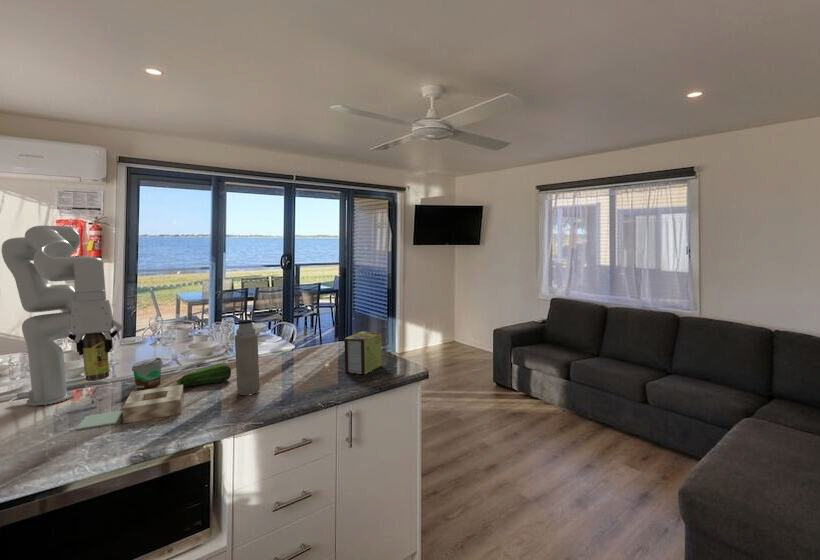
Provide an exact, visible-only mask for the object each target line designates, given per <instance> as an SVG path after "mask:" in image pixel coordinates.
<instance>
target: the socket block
mask: <svg viewBox="0 0 820 560" xmlns="http://www.w3.org/2000/svg"><path fill="white" fill-rule="evenodd" d="M184 393H185V392H184V386H183V385H178V384H177V385H170V386H165V387H164V386H163V387H157V388H156V387H154V388H150V389H144V390H134V391H131V392H130V393H129V395H128V397H127V399H126V401H125V403H124V404H123V406H122V408H121V411H122V424H128V423H129V424H130V423H134V422H140V421H141V422H142V421H146V420H152V419H159V418H163V417H164V416H165V417H171V416H177V415H181V414H182V411H183V405H184V401H185V400H184V399H185V395H184ZM181 410H182V411H181ZM176 414H177V415H176ZM170 415H171V416H170ZM165 417H164V418H165Z"/></svg>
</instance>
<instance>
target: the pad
mask: <svg viewBox="0 0 820 560" xmlns="http://www.w3.org/2000/svg"><path fill="white" fill-rule="evenodd" d="M121 415H123V413H122V410H118V411H117V410H115V411H110V412H104V413H97V414H91V415H85V417H84V418H83V419H82V421H81V422H80V423H79V424H78V426H77V427H76V431H79V430H85V429H91V428H99V427H104V426H109V425H115V424H118V421H119V419H120V418H121Z"/></svg>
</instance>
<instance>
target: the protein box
mask: <svg viewBox="0 0 820 560" xmlns="http://www.w3.org/2000/svg"><path fill="white" fill-rule="evenodd" d="M343 340H344V341H343V342H344V369H345V370H344V371H345V372H344V373H346V372H350V373H349V374H353V373H357V374H356V375H359V374H366V375H367V373H368V372H370V371H371V372H373V371H374V370H373V369H375V368H377V367H378V366H380V365H381V366H382V333H381V332H373V331H371V332H370V331H360V332H358V333H354V334H352V335H349V336H347V337H345V338H344V339H343ZM381 366H380V367H381ZM378 368H379V367H378ZM378 368H377V369H378ZM372 370H373V371H372ZM375 370H376V369H375ZM371 372H370V373H371ZM368 374H369V373H368Z"/></svg>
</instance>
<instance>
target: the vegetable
mask: <svg viewBox="0 0 820 560" xmlns="http://www.w3.org/2000/svg"><path fill="white" fill-rule="evenodd" d="M231 377H232V368H231V367H230V366H229V365H227V364H224V363H223V364H215V365H212V366H209V367H205V368H202V369H198V370H195V371H194V370H193V371H191V372H188V373H185V374H184V375H183V376H182V377H181V378H179V379H178V380H176V381H175V382H176V383H177V385H183V388H190V387H193V386H194V387H195V386H201V385H210V384H219V382H220V383H223V382H226V381H228V380H229V379H230V378H231Z"/></svg>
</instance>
